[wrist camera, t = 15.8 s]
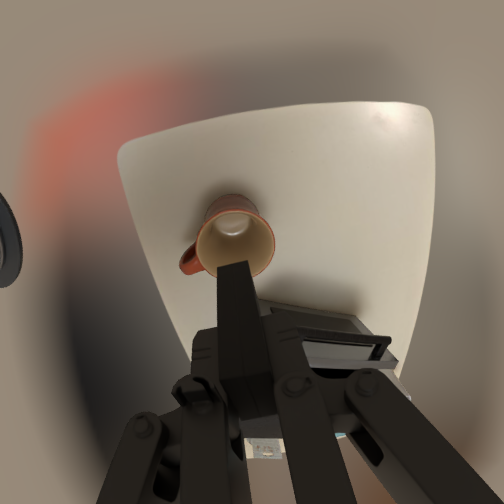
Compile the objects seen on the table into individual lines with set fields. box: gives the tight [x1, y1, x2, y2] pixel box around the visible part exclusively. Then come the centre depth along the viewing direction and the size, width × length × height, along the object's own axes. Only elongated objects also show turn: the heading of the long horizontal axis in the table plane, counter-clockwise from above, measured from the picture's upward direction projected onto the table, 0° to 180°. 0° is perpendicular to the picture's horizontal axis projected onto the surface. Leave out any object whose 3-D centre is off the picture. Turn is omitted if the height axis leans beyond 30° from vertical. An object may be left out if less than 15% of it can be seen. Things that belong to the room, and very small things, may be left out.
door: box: [258, 299, 399, 369], centre depth 41 cm, size 5×22×16 cm, turn 72°
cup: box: [378, 369, 411, 400], centre depth 57 cm, size 8×8×12 cm
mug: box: [179, 194, 275, 278], centre depth 35 cm, size 12×9×10 cm
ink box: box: [246, 438, 282, 459], centre depth 63 cm, size 3×9×12 cm, turn 60°
